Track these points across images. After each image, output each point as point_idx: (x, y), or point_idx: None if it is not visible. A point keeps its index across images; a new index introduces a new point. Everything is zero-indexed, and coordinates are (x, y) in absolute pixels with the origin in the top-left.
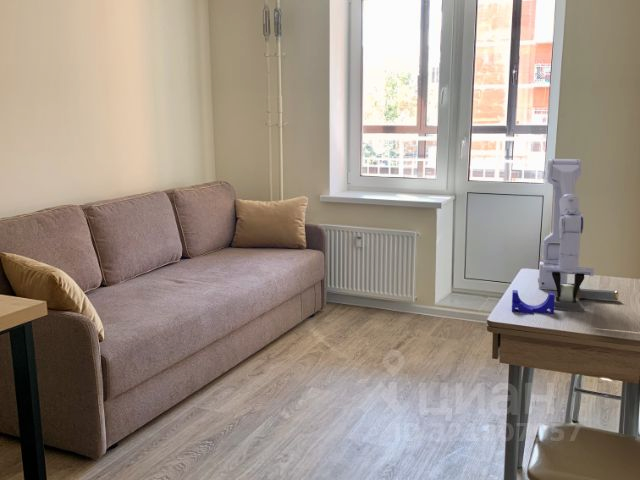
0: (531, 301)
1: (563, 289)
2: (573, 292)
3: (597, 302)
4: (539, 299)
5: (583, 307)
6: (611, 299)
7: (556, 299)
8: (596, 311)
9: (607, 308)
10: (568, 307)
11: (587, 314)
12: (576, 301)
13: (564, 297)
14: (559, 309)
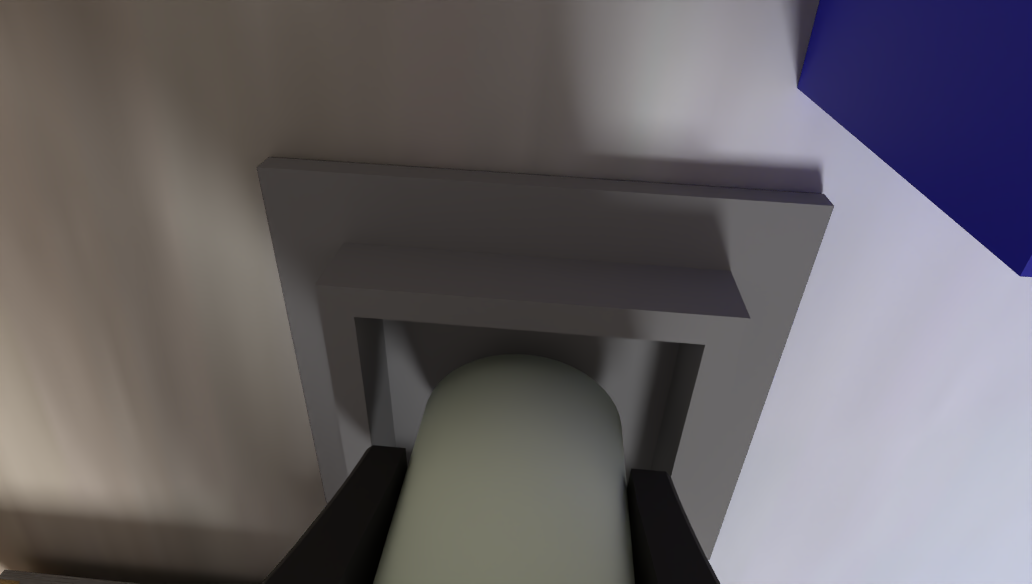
0: (941, 500)
1: (588, 581)
2: (385, 541)
3: (184, 533)
4: (798, 565)
5: (287, 306)
6: (51, 579)
7: None
8: (113, 220)
9: (29, 366)
10: (504, 256)
11: (203, 15)
12: (372, 419)
13: (560, 430)
14: (658, 186)
